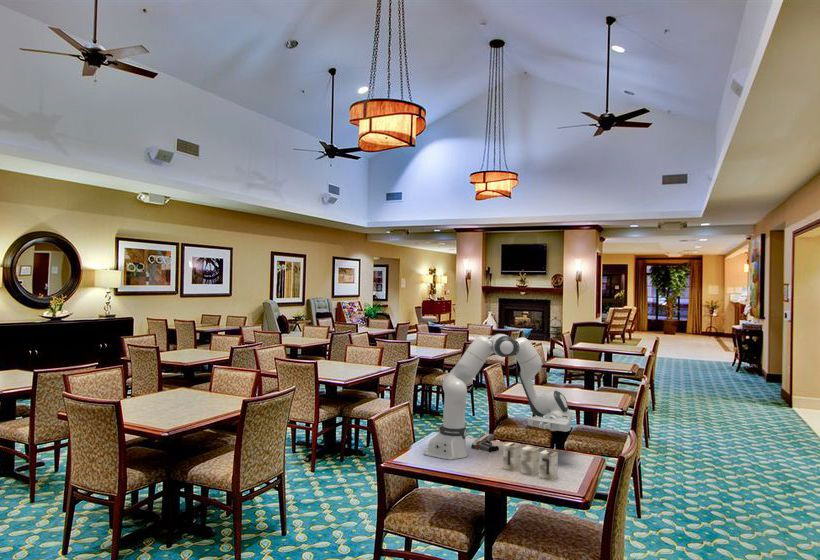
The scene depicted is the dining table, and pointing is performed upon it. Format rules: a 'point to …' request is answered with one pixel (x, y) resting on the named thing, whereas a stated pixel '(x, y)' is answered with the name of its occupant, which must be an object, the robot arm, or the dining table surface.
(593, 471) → the dining table surface
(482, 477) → the dining table surface
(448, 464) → the dining table surface
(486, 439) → the toy gun
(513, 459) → the block one
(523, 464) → the plain block
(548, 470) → the block seven
